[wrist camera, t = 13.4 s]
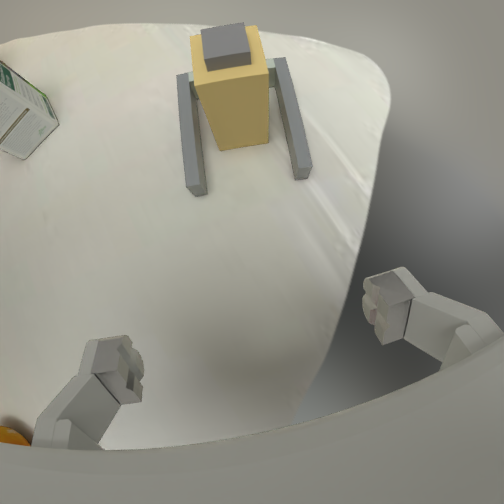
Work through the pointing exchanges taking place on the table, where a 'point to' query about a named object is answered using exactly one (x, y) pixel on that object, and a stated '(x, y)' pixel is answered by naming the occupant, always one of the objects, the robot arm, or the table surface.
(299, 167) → the holder
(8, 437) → the fruit
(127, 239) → the table surface
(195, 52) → the block
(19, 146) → the syrup box
